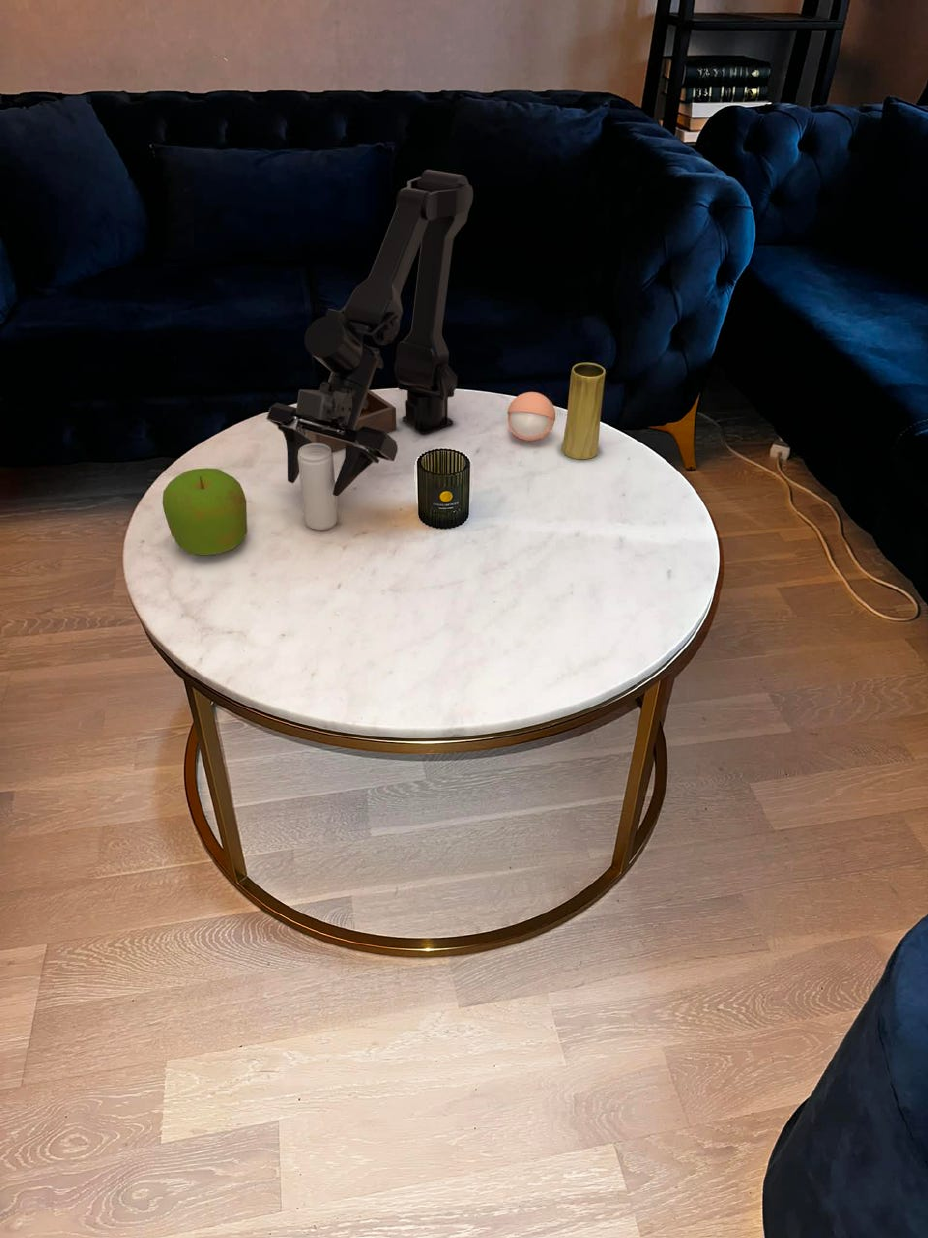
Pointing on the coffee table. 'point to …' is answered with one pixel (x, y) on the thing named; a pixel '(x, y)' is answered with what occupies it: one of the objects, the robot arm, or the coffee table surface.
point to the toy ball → (531, 416)
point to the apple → (205, 511)
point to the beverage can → (317, 486)
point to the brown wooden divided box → (364, 421)
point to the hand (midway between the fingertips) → (312, 489)
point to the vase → (584, 411)
